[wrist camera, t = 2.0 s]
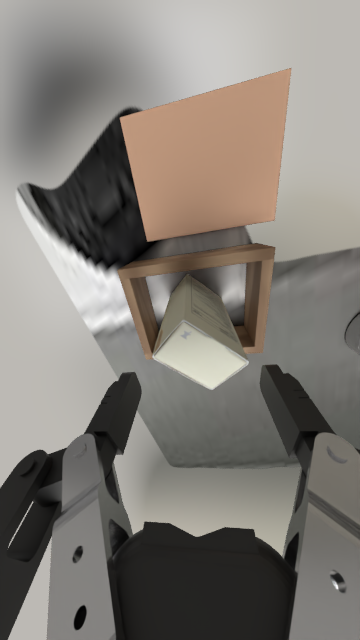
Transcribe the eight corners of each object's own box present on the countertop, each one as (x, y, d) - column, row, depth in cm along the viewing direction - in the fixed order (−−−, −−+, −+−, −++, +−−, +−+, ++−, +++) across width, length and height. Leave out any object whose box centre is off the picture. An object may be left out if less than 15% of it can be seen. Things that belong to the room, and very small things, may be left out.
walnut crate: (256, 243, 19) (275, 247, 14) (250, 330, 24) (262, 352, 20) (133, 261, 21) (117, 270, 16) (154, 338, 26) (146, 359, 22)
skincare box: (168, 297, 23) (145, 356, 12) (187, 271, 21) (179, 315, 10) (204, 321, 24) (211, 394, 14) (224, 300, 22) (251, 364, 12)
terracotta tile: (288, 73, 13) (291, 67, 12) (272, 220, 17) (274, 220, 17) (121, 120, 15) (119, 117, 14) (148, 241, 19) (147, 241, 19)
